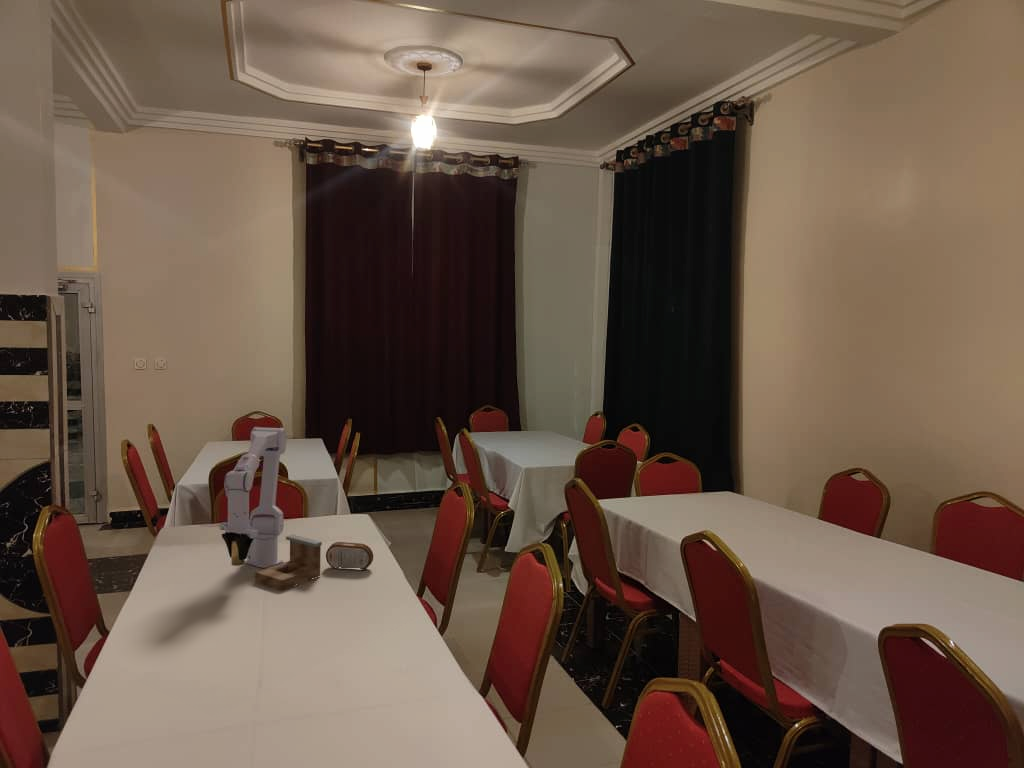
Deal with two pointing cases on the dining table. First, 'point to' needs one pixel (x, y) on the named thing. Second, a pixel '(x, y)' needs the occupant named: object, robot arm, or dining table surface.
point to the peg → (236, 555)
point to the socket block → (293, 565)
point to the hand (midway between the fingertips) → (238, 557)
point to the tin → (349, 555)
